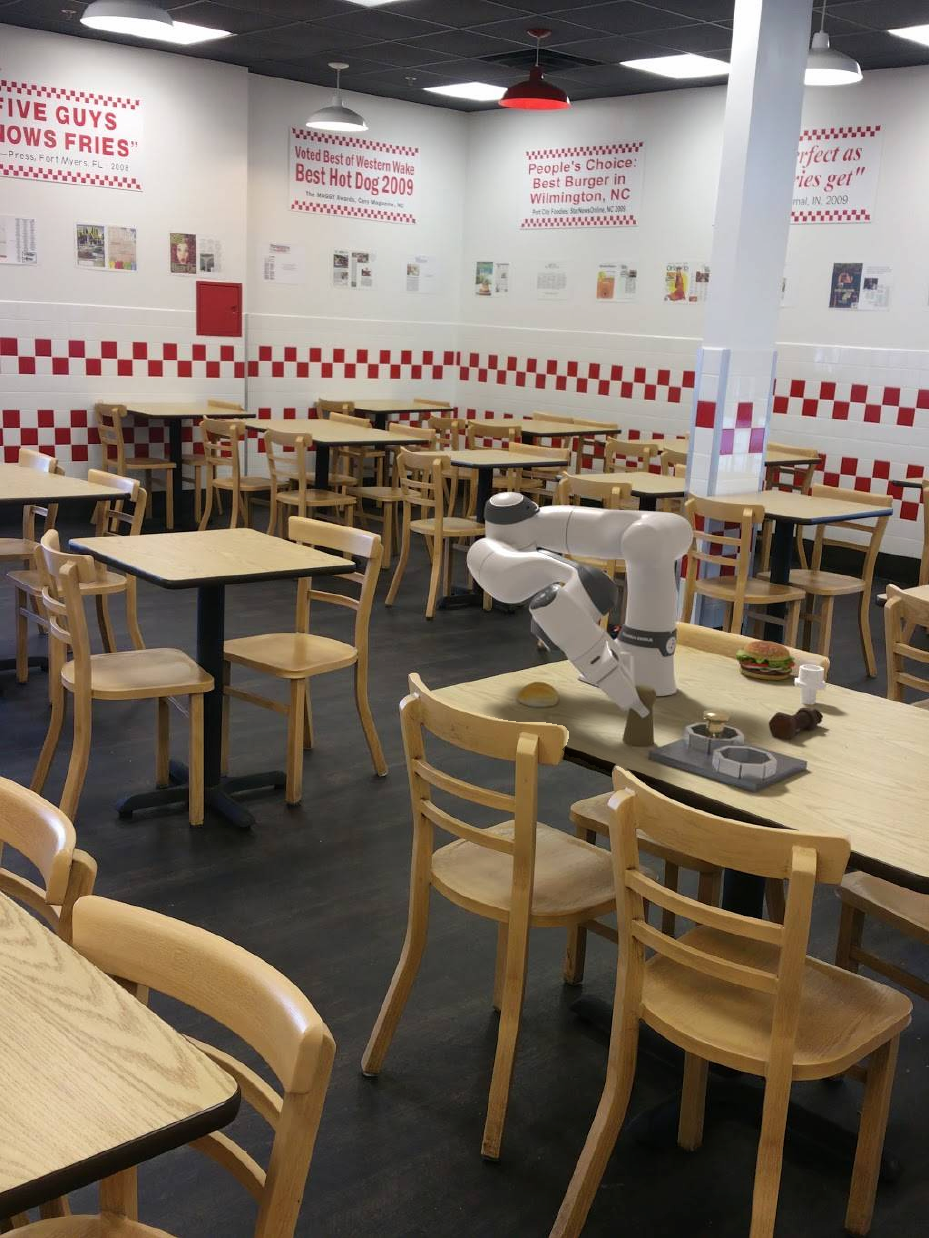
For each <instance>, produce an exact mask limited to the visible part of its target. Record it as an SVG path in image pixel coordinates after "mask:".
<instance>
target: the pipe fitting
mask: <svg viewBox="0 0 929 1238" xmlns="http://www.w3.org/2000/svg"><path fill="white" fill-rule="evenodd" d="M798 670H799V671H798V677H794V681H793V682H794V685H795V687H798V688H800V689H801V691H800V699H799V700H800V701H799V702H800V703H801V704H804V705H815V704H816V700H817V693H818V692H817V691H818V690H826V688H827V687H826V686H827V685H826V684H827V683H826V681H825V680H824V674H825V673H824V672H825V668H824V667H822V666H820V665H814V664H802V665H799V669H798Z"/></svg>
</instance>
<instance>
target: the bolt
mask: <svg viewBox="0 0 929 1238" xmlns="http://www.w3.org/2000/svg"><path fill="white" fill-rule="evenodd" d="M823 718H824V716H823V714H822V713H821V711H819V710H818V709H815V708H808V707H804V706H803V707H801V708H799V709H798V710H797V711H796V713H795V714H787V713H784V712H781V711H778V712H776V713H775V714H774V715H773V716H772V718H770V720H769V722H768V727H769V731H770V734H771V735H772V737H773V738H776V739H779V740H782V741H783V740H784V741H789V740H791V739H792V737H794V735H795V733H797V731H800V730H803V731H808V732H811V731H813V730H814V729H815V728H816V727H817V725H819V724H821V723H822V721H823Z"/></svg>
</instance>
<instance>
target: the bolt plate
mask: <svg viewBox="0 0 929 1238" xmlns="http://www.w3.org/2000/svg"><path fill="white" fill-rule="evenodd" d="M702 718H703V719H704V720H705V721H706V722H695V723H692V724H688V725H686V726H685V727H684V733H683V738H681V739H678V740H674V741H672V742H670V743H667V744H664V745H662V746H659V747H656V748H653V749H649V750H648V755H647V759H648V760H652V761H654V762H657V763H660V764H663V765H667V766H670V767H674V768H676V769H678V770H682V771H685V772H688V773H692V774H695V775H698V776H701V777H704V778H708V779H710V780H713V781H717V782H720V783H724V784H726V785H730V786H733V787H735V788H739V789H742V790H746V791H747V792H752V793H757V792H759V791H761V790H763V789H766V788H768V787H770V786H773V785H775V784H777V783H779V782H781V781H784V780H785V779H789V778H790V777H792V776H795V775H796V774H799V773H801V772H803V771H805V770H807V767H808V761H807V760H806V759H805V760H804V759H801V758H797V757H794V756H790V755H787V754H784V753H780V752H778V751H777V752H776V751H773V750H769V749H765V748H763V747H760V746H756V745H752V744H749V743H746V742H745V736H746V735H744V733H743V732H742V731H741V730H740V728H739V729H738V728H736V727H733V726H729V725H725V723H728V722H729V721H730V713H728V712H727V711H723V710H717V709H706V710H704V711H703V716H702Z"/></svg>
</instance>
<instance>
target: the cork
mask: <svg viewBox="0 0 929 1238" xmlns="http://www.w3.org/2000/svg"><path fill="white" fill-rule="evenodd" d="M635 687H636V690H637V693H638V696H639V699H640V701H641V702H642V703H643V704H644V705H645V706H646V707H647V708H648V710H649V714H648V715H647V716H646V717H644V718H642V717H641V716H640V715H639V714H638V713H637V712H636V711H635V710H634V709H632V708H630V709H629V710H628V715H627V718H626V722H625V727H624V731H623V735H622V740H621V741H622V742H623V743H624V744H626V745H630V746H633V747H644V748H645V747H650V746H653V745H654V744H655V736H654V713H653V712H654V709H653V704H654V703H655V702H656V699H657V696H656V691H655V689H654V688H652V687H650V686H646V685H635Z"/></svg>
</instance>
